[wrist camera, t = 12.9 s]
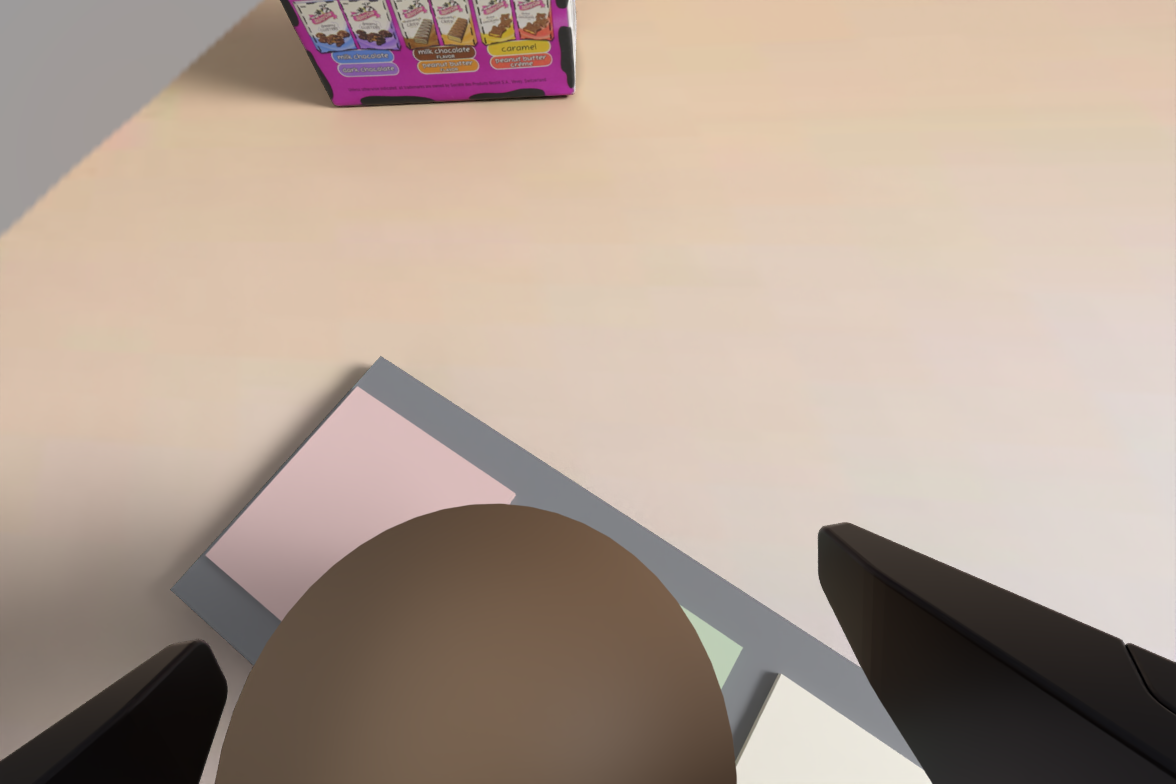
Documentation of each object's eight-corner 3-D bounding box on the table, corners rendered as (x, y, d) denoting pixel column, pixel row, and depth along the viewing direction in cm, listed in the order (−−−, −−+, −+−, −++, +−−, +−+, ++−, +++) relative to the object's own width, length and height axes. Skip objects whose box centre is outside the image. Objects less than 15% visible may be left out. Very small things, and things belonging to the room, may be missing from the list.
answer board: (895, 1223, 12) (927, 1287, 11) (193, 592, 18) (162, 588, 16) (1033, 788, 15) (1070, 800, 14) (391, 369, 20) (377, 352, 19)
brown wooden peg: (538, 891, 13) (250, 1795, 3) (416, 655, 15) (-10, 657, 5) (739, 719, 14) (1067, 890, 4) (599, 523, 17) (571, 299, 6)
